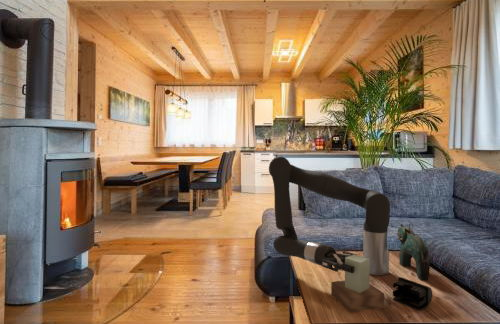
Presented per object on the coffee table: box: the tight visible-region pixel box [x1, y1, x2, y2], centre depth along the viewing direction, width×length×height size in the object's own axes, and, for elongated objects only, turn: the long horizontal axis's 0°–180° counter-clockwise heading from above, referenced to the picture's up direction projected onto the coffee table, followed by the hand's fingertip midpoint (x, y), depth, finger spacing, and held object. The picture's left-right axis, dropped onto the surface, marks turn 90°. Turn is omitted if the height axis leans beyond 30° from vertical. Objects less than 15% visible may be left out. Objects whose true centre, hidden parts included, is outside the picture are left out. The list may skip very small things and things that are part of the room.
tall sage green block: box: [344, 253, 370, 293], centre depth 103 cm, size 6×6×10 cm
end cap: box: [392, 276, 433, 312], centre depth 102 cm, size 10×7×7 cm
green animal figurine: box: [396, 222, 431, 282], centre depth 128 cm, size 20×6×20 cm, turn 178°
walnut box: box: [330, 279, 385, 313], centre depth 103 cm, size 12×12×5 cm
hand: (360, 266), depth 102 cm, fingers open, 8 cm apart
